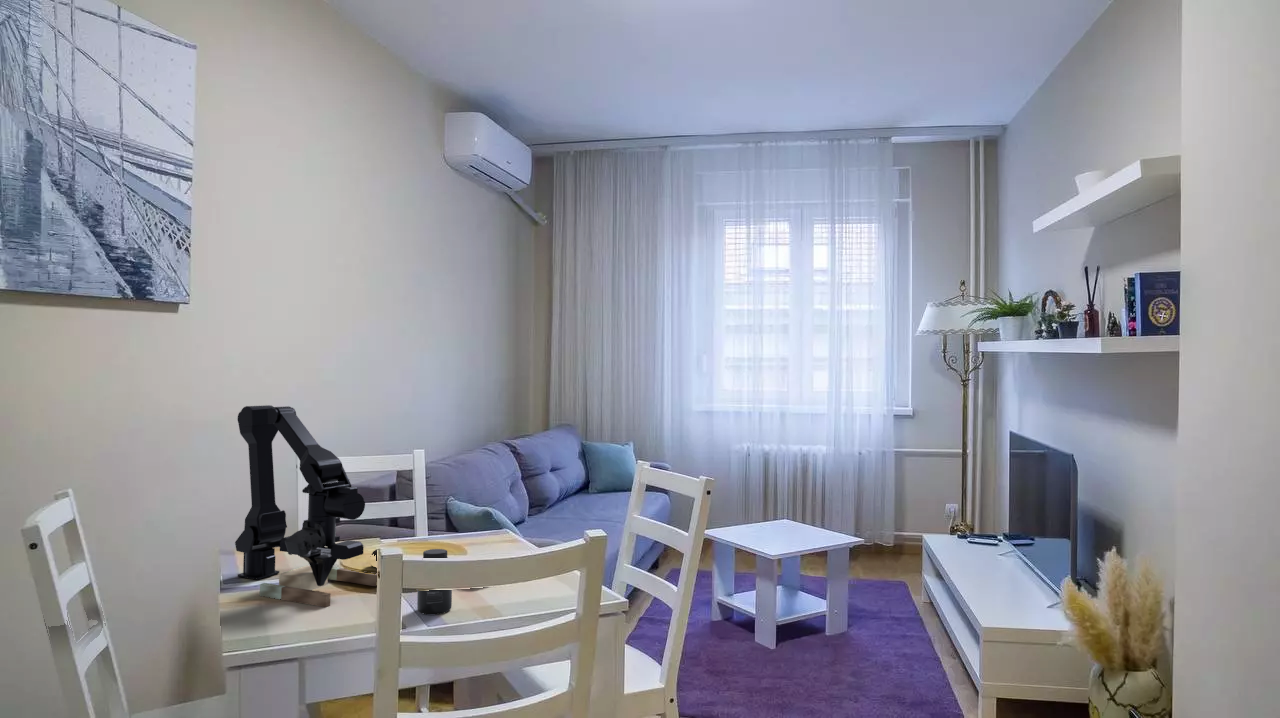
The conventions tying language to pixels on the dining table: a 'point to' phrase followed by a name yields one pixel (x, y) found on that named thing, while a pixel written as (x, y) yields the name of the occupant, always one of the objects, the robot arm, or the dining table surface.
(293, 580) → the light wood block
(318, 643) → the dining table surface
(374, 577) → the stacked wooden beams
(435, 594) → the supplement bottle
